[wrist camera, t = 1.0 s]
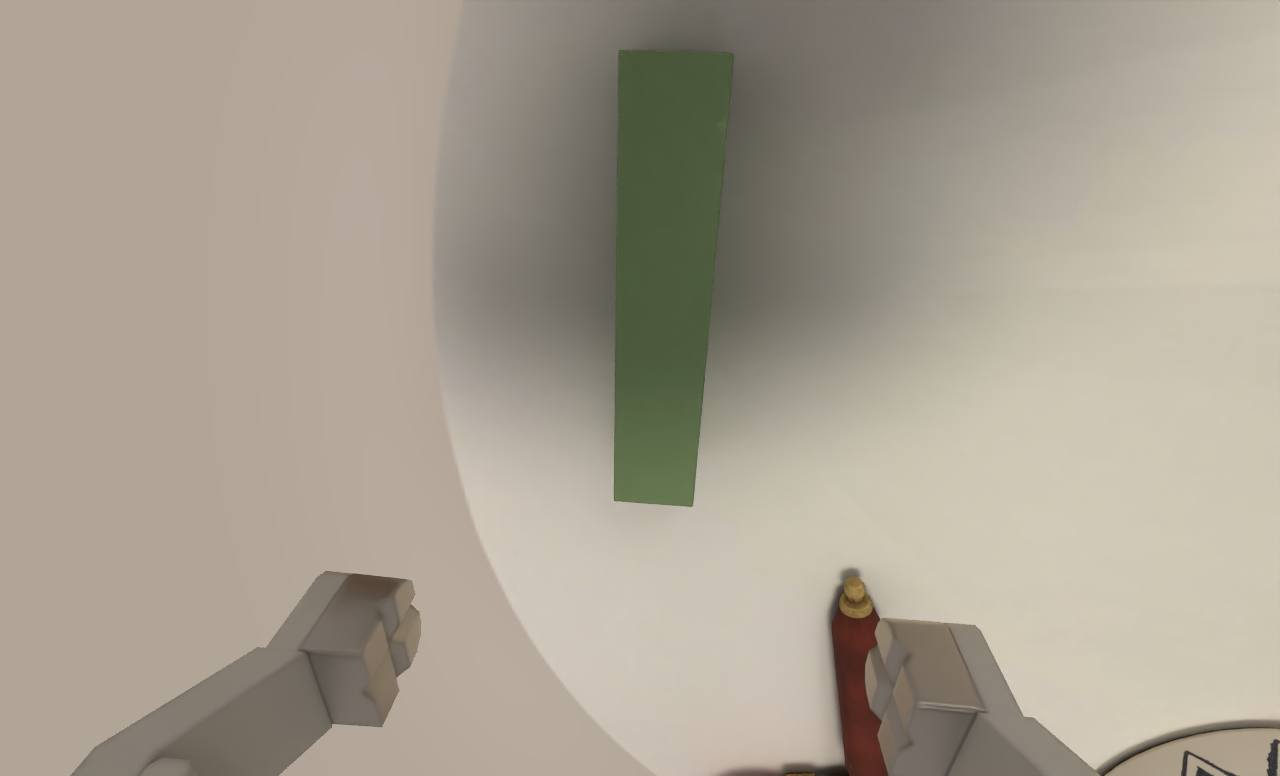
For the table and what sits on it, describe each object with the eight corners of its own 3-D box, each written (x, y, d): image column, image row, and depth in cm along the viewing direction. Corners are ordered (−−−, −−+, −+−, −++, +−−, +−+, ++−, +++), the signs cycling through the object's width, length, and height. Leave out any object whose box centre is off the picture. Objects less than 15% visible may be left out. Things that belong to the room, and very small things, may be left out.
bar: (631, 49, 21) (618, 49, 17) (727, 53, 20) (734, 53, 17) (623, 445, 28) (613, 501, 25) (693, 450, 28) (692, 507, 25)
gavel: (754, 623, 29) (982, 606, 27) (748, 558, 33) (945, 539, 31) (797, 880, 37) (973, 879, 35) (788, 802, 41) (945, 798, 40)
